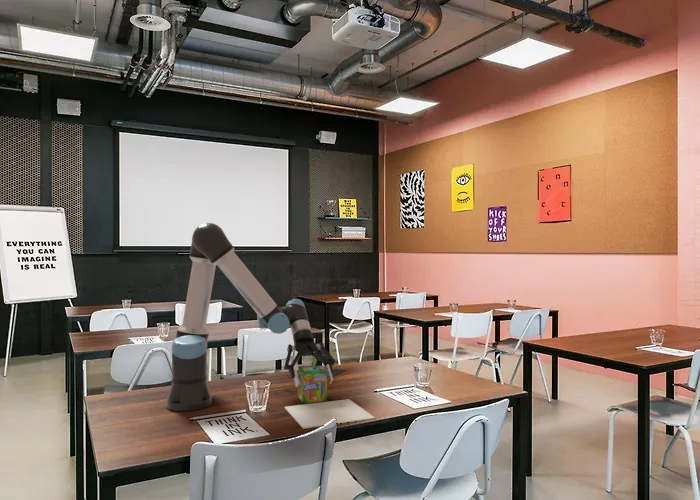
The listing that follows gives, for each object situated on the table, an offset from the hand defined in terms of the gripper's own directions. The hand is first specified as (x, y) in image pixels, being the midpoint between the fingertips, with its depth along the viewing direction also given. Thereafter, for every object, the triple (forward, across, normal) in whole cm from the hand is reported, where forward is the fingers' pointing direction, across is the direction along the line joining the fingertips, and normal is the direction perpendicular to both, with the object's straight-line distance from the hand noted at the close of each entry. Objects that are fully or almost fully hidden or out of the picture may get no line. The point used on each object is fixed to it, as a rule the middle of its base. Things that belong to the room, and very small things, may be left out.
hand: (314, 383), depth 182 cm
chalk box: (+3, 0, -7) cm, 7 cm away
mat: (+15, 0, +6) cm, 16 cm away
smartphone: (-19, -20, -29) cm, 41 cm away
